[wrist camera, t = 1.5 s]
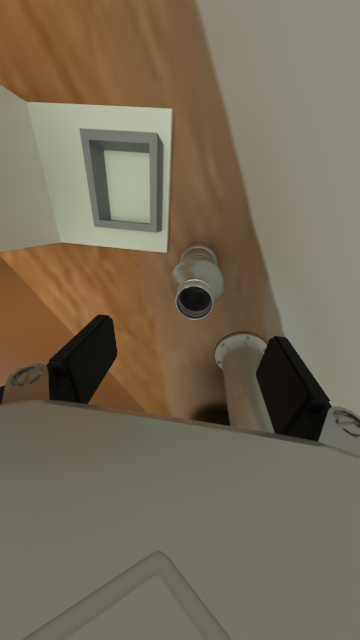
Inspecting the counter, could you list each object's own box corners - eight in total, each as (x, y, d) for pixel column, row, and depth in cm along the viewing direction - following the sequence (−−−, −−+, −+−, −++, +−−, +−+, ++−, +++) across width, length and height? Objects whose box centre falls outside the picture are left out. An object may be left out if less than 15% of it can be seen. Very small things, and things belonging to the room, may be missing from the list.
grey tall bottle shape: (196, 233, 31) (187, 250, 14) (224, 258, 33) (246, 300, 16) (174, 262, 34) (146, 305, 17) (201, 283, 36) (198, 343, 19)
